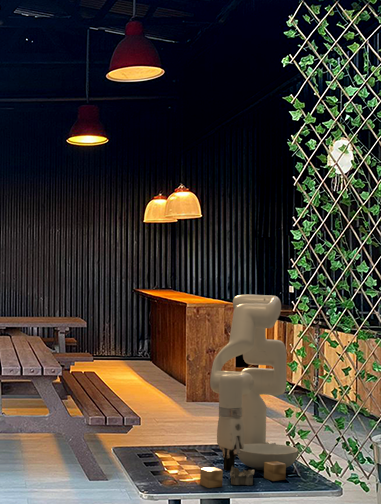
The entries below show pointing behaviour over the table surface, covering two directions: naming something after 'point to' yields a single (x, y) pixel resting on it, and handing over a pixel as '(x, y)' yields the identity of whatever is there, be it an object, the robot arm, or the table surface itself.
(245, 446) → the serving bowl
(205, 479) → the maple block
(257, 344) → the robot arm
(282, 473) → the maple block
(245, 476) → the tan cratered rock
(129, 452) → the table surface
